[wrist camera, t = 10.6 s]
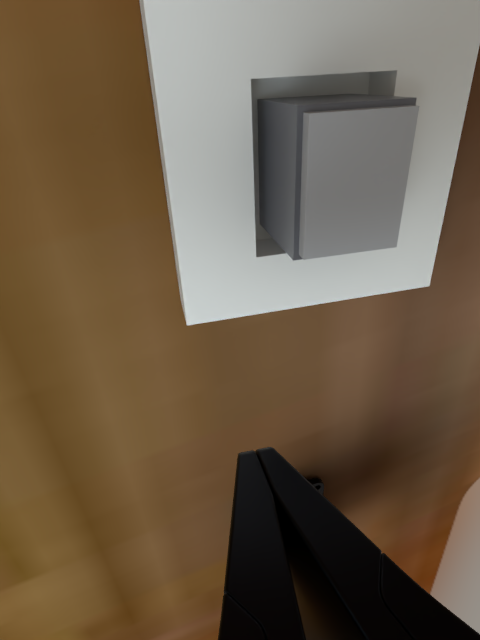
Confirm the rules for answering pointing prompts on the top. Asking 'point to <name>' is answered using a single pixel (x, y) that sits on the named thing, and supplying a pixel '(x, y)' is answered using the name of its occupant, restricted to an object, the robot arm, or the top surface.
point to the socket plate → (296, 81)
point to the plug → (334, 171)
